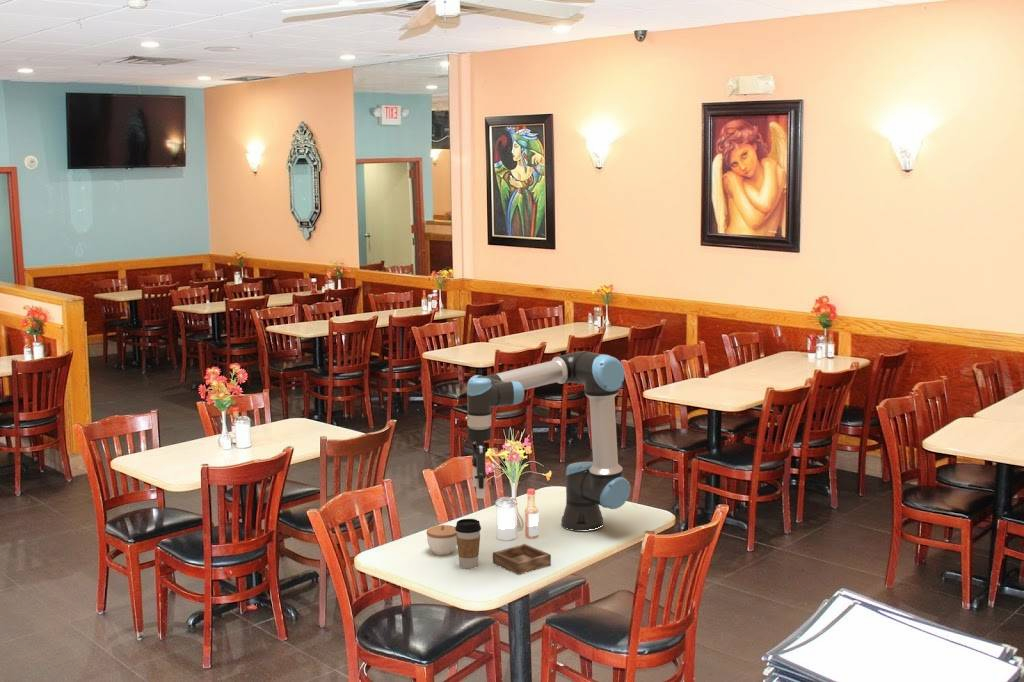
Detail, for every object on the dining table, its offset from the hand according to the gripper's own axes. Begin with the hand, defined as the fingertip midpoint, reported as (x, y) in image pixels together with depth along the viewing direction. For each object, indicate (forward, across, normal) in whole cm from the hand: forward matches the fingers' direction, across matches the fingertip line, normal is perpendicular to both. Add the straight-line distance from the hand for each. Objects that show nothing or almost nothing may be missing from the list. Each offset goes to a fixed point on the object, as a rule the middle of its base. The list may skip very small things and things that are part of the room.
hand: (478, 492), depth 336 cm
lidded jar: (+25, -16, -10) cm, 31 cm away
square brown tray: (+24, 0, +14) cm, 28 cm away
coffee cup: (+25, -2, -3) cm, 25 cm away
